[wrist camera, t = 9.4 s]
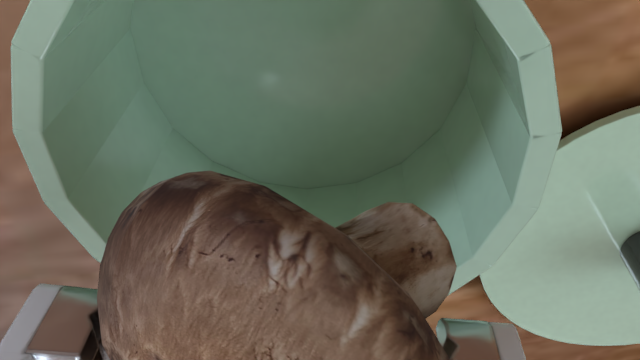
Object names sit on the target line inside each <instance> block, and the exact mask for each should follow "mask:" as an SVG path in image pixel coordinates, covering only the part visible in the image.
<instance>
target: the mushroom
mask: <svg viewBox="0 0 640 360" xmlns="http://www.w3.org/2000/svg"><path fill="white" fill-rule="evenodd" d="M456 268H457V266H456V262H455V259H454V256H453V253H452V249H451V246H450V243H449V240H448V239H447V237H446V235H445V234H444V232H443V231H442V229H441V227H440V226H439V224H438V223H437V221H436V219H435V218H433V217H432V216H431V215H429V214H428V213H426V212H425V211H423V210H422V209H420V208H419V207H417V206H416V205H414V204H413V203H397V202H387V203H384V204H382V205H379V206H376V207H374V208H371V209H369V210H367V211H365V212H363V213H361V214H360V215H358V216H356V217H354V218H352V219H351V220H349V221H347V222H345V223H343V224H341V225H339V226H338V227H336V228H334V227H333V226H331V225H329V224H328V223H326V222H324V221H323V220H321V219H319V218H318V217H316V216H314V215H313V214H311V213H309V212H308V211H306V210H304V209H303V208H301V207H299V206H298V205H296V204H294V203H293V202H291V201H289V200H288V199H286V198H284V197H283V196H281V195H279V194H278V193H276V192H274V191H273V190H271V189H269V188H268V187H266V186H264V185H260V184H256V183H253V182H249V181H246V180H242V179H239V178H235V177H231V176H228V175H224V174H221V173H217V172H214V171H210V170H209V171H199V172H189V173H184V174H181V175H179V176H176V177H173V178H170V179H167V180H164V181H161V182H159V183H157V184H155V185H153V186H151V187H150V188H148V189H146V190H144V191H142V192H141V193H140V194H139V195H138V196H137V197H136V198H135V199H134V200H133V201H132V202H131V203H130V204H129V205H128V206H127V207H126V208H125V209H124V210H123V211H122V213H121V214H120V216H119V218H118V220H117V222H116V224H115V226H114V228H113V230H112V232H111V233H110V235H109V237H108V240H107V244H106V247H105V251H104V254H103V257H102V261H101V264H100V273H99V282H98V291H97V305H98V314H99V322H100V331H101V339H102V345H103V347H104V349H105V351H106V353H107V355H108V357H109V359H110V360H450V359H449V357H448V355H447V354H446V352H445V350H444V349H443V347H442V345H441V344H440V342H439V341H438V339H437V337H436V336H435V334H434V332H433V331H432V329H431V328H430V326H429V324H428V323H427V321H426V319H425V318H427V317H428V316H430V315H431V314H433V313H434V312H436V310H437V309H438V307H439V306H440V305H441V303H442V302H443V301H444V299H445V298H446V297H447V295H448V294H449V292H450V289H451V285H452V282H453V278H454V275H455V271H456Z"/></svg>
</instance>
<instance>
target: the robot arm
mask: <svg viewBox="0 0 640 360" xmlns="http://www.w3.org/2000/svg"><path fill="white" fill-rule="evenodd" d="M97 291H98V289H89V288H80V287H71V286H62V285H51V284H39V285H38V286H37V287H36V288H34V289H33V290H32V292H31V294H30V295H29V297H28V298H27V300H26V302H25V303H24V305H23V307H22V308H21V310H20V312H19V313H18V315H17V316H16V318H15V320H14V321H13V323H12V325H11V326H10V328H9V330H8V331H7V333H6V334H5V336H4V338H3V339H2V341H1V343H0V360H110V359H109V357H108V355H107V353H106V351H105V349H104V347H103V345H102V339H101V331H100V322H99V314H98V305H97ZM436 333H437V339H438V341H439V342H440V344H441V345H442V347H443V349H444V350H445V352H446V354H447V355H448V357H449V359H450V360H526V358H525V355H524V352H523V348H522V345H521V342H520V339H519V336H518V332H517V329H516V328H515V326H514V325H513V324H507V323H494V322H487V321H476V320H462V319H447V318H441V319H440V320H439V321H438V324H437V327H436Z"/></svg>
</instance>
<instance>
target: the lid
mask: <svg viewBox="0 0 640 360" xmlns="http://www.w3.org/2000/svg"><path fill="white" fill-rule="evenodd" d="M480 279H481V282H482V285H483V288H484V290H485V292H486V294H487V296H488V297H489V299H490V301H491V302H492V303H493V305H494V306H495V307H496V308H497V309H498V310H499V312H501V313H502V314H503V315H504V316H505V317H506V318H508V319H509V320H510V321H511V322H513V323H515V324H516V325H518V326H520V327H521V328H523V329H525V330H527V331H529V332H532V333H534V334H536V335H539V336H542V337H545V338H548V339H551V340H556V341H561V342H565V343H571V344H580V345H593V346H615V345H629V344H638V343H640V106H637V107H633V108H630V109H626V110H623V111H620V112H617V113H615V114H612V115H610V116H607V117H605V118H602V119H600V120H597V121H595V122H593V123H591V124H589V125H587V126H585V127H583V128H581V129H579V130H577V131H575V132H573V133H571V134H569V135H568V136H566V137H565V138H563V139H561V140H560V141H559V145H558V148H557V151H556V154H555V158H554V161H553V164H552V167H551V171H550V174H549V177H548V180H547V183H546V187H545V190H544V193H543V196H542V200H541V203H540V206H539V208H538V210H537V211H536V213H535V214H534V215H533V216H532V218H531V219H530V220H529V221H528V223H527V224H526V225H525V226H524V228H523V229H522V230H521V231H520V233H519V234H518V235H517V236H516V238H515V239H514V240H513V241H512V243H511V244H510V245H509V246H508V248H507V249H506V250H505V251H504V253H503V254H502V255H501V256H500V258H499V259H498V260H497V261H496V263H495V264H494V265H492V266H491V268H489V269H488V270H486V271H484V272H483V273H481V274H480Z"/></svg>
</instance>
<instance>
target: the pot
mask: <svg viewBox="0 0 640 360" xmlns="http://www.w3.org/2000/svg"><path fill="white" fill-rule="evenodd" d="M11 88H12V127H13V133H14V135H15V138H16V140H17V142H18V145H19V147H20V149H21V151H22V154H23V156H24V158H25V160H26V163H27V165H28V167H29V170H30V172H31V174H32V176H33V179H34V181H35V183H36V186H37V188H38V190H39V192H40V195H41V197H42V199H43V201H44V203H45V204H46V205H47V207H48V208H49V209H50V210H51V211H52V212H53V213H54V214H55V215H56V217H57V218H58V219H59V220H60V221H61V222H62V223H63V224H64V225H65V227H66V228H67V229H68V230H69V231H70V232H71V233H72V234H73V236H74V237H75V238H76V239H77V240H78V241H79V242H80V243H81V244H82V246H83V247H84V248H85V249H86V250H87V251H88V252H89V253H90V254H91V256H92V257H93V258H94V259H96V260H97V261H98V262H100V263H101V261H102V257H103V254H104V251H105V247H106V244H107V240H108V237H109V235H110V233H111V232H112V230H113V228H114V226H115V224H116V222H117V220H118V218H119V216H120V214H121V213H122V211H123V210H124V209H125V208H126V207H127V206H128V205H129V204H130V203H131V202H132V201H133V200H134V199H135V198H136V197H137V196H138V195H139V194H140V193H141V192H142V191H144V190H146V189H148V188H150V187H151V186H153V185H155V184H157V183H159V182H161V181H164V180H167V179H170V178H173V177H176V176H179V175H181V174H184V173H189V172H199V171H209V170H210V171H214V172H217V173H221V174H224V175H228V176H231V177H235V178H239V179H242V180H246V181H249V182H253V183H256V184H260V185H264V186H266V187H268V188H269V189H271V190H273V191H274V192H276V193H278V194H279V195H281V196H283V197H284V198H286V199H288V200H289V201H291V202H293V203H294V204H296V205H298V206H299V207H301V208H303V209H304V210H306V211H308V212H309V213H311V214H313V215H314V216H316V217H318V218H319V219H321V220H323V221H324V222H326V223H328V224H329V225H331V226H333V227H334V228H336V227H338V226H339V225H341V224H343V223H345V222H347V221H349V220H351V219H352V218H354V217H356V216H358V215H360V214H361V213H363V212H365V211H367V210H369V209H371V208H374V207H376V206H379V205H382V204H384V203H387V202H397V203H413V204H414V205H416V206H417V207H419V208H420V209H422V210H423V211H425V212H426V213H428V214H429V215H431V216H432V217H433V218H435V219H436V221H437V223H438V224H439V226H440V227H441V229H442V231H443V232H444V234H445V235H446V237H447V239H448V240H449V243H450V246H451V249H452V253H453V256H454V259H455V262H456V266H457V268H456V271H455V275H454V278H453V282H452V285H451V289H450V292H449V294H451V293H453V292H454V291H456V290H457V289H459V288H460V287H462V286H463V285H465V284H466V283H468V282H469V281H471V280H472V279H474V278H475V277H477V276H478V275H480V274H481V273H483V272H484V271H486V270H488V269H489V268H491V266H492V265H494V264H495V263H496V261H497V260H498V259H499V258H500V256H501V255H502V254H503V253H504V251H505V250H506V249H507V248H508V246H509V245H510V244H511V243H512V241H513V240H514V239H515V238H516V236H517V235H518V234H519V233H520V231H521V230H522V229H523V228H524V226H525V225H526V224H527V223H528V221H529V220H530V219H531V218H532V216H533V215H534V214H535V213H536V211H537V210H538V208H539V206H540V203H541V200H542V196H543V193H544V190H545V187H546V183H547V180H548V177H549V174H550V171H551V167H552V164H553V161H554V158H555V154H556V151H557V148H558V145H559V141H560V138H561V135H562V133H561V132H562V124H561V117H560V109H559V101H558V93H557V85H556V78H555V70H554V62H553V54H552V46H551V44H550V41H549V39H548V37H547V36H546V34H545V33H544V31H543V30H542V28H541V26H540V25H539V23H538V22H537V20H536V19H535V17H534V15H533V14H532V12H531V11H530V9H529V8H528V6H527V4H526V3H525V1H524V0H30V2H29V4H28V7H27V9H26V11H25V13H24V15H23V17H22V19H21V22H20V24H19V26H18V28H17V30H16V32H15V34H14V37H13V39H12V45H11ZM449 294H448V295H449ZM448 295H447V296H448Z"/></svg>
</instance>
